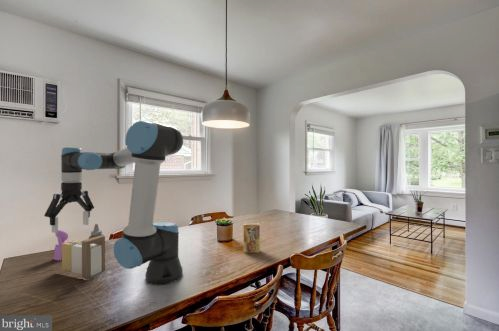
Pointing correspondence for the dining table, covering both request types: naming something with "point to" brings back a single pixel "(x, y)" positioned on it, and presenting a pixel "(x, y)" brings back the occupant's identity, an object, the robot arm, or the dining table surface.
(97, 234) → the squeeze bottle
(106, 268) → the mat
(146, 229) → the robot arm
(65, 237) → the pink scoop
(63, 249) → the stub
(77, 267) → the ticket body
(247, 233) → the candy box
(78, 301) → the dining table surface
